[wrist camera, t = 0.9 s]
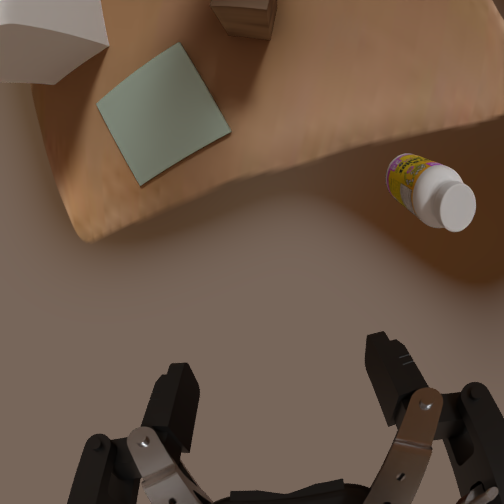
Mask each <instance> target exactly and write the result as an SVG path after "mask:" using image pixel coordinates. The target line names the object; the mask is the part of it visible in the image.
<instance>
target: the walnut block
mask: <svg viewBox="0 0 504 504" xmlns="http://www.w3.org/2000/svg"><path fill="white" fill-rule="evenodd" d="M210 7H211V9H212V10H213V12H214V13H215V15H216V16H217V18H218V19H219V21H220V22H221V24H222V26H223V27H224V29H225V30H226V32H227V34H228V35H229V36H239V37H249V38H257V39H265V40H270V39H271V34H272V30H273V25H274V20H275V15H276V11H277V0H211V3H210Z"/></svg>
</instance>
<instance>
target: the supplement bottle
mask: <svg viewBox="0 0 504 504" xmlns="http://www.w3.org/2000/svg"><path fill="white" fill-rule="evenodd" d="M386 185H387V188H388V191H389V193H390V194H391V195H392V197H393V198H394V199H396V200H397V201H398V202H399V203H401V204H402V205H403V206H404V207H406V208H407V209H408V210H409V211H411V212H412V213H413V214H414V215H416V216H417V217H418V218H419V219H420V220H421V221H422V222H424V223H425V224H427V225H428V226H431V227H434V228H443V227H444V228H446V229H447V230H449V231H452V232H458V231H461V230H463V229H464V228H466V227H467V226H468V225H469V223H470V222H471V221H472V219H473V216H474V214H475V209H476V201H475V196H474V194H473V192H472V190H471V189H470V188H469V187H468V186H467V185H465V184H463V182H462V180H461V178H460V176H459V175H458V174H457V173H456V172H455V171H454V170H453V169H451V168H449V167H447V166H444V165H442V164H439V163H437V162H433V161H431V160H428V159H425V158H423V157H419V156H417V155H413V154H402V155H399V156H397V157H396V158H395V159H394V160H392V162H391V163H390V165H389V167H388V169H387V172H386Z"/></svg>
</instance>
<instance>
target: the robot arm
mask: <svg viewBox="0 0 504 504" xmlns="http://www.w3.org/2000/svg"><path fill="white" fill-rule="evenodd" d="M365 367H366V370H367V373H368V376H369V378H370V380H371V383H372V386H373V388H374V391H375V393H376V396H377V398H378V401H379V403H380V406H381V409H382V411H383V414H384V417H385V419H386V422H387V425H388V427H389V426H392V425H395V424H396V426H397V429H398V431H397V434H396V436H395V438H394V440H393V443H392V445H391V448H390V450H389V452H388V454H387V456H386V458H385V460H384V462H383V465H382V466H381V469H380V470H379V472H378V474H377V476H376V478H375V480H374V482H373V483H372V485H371V487H370V488H368V487H365V486H362V485H358V484H349V483H346V484H345V483H344V482H343V479H339V480H334V481H330V482H324V483H318V484H314V485H312V486H309V487H306V488H303V489H301V490H298V491H295V492H292V493H289V494H280V493H272V492H265V491H258V490H256V491H231V492H230V497H226V498H223V499H220V500H218V501H215V502H213V501H212V500H211V499H210V498H209V496H208V495H207V494H206V493H205V492H204V491H203V490H202V489H201V488H200V487H199V485H198V484H197V482H196V481H195V480H194V478H193V477H192V476H191V474H190V473H189V471H188V470H187V469H186V467H185V465H184V464H183V462H182V461H181V460H180V456H181V452H183V453H190V448H191V442H192V436H193V430H194V425H195V419H196V413H197V408H198V402H199V397H200V389H199V385H198V382H197V380H196V378H195V376H194V374H193V372H192V370H191V368H190V366H189V364H188V363H172V364H171V365H170V366H169V369H168V372H167V375H161V377H160V378H159V379H158V380H157V381H156V383H155V385H154V388H153V391H152V392H153V393H152V394H151V397H150V401H149V403H148V406H147V409H146V412H145V415H144V418H143V421H142V424H141V427H139V428H136V429H134V430H133V431H132V432H131V433H130V434H129V436H128V437H126V438H120V439H114V440H110V439H109V438H108V437H107V436H106V435H103V434H95V435H93V436H91V437H90V438H89V439H88V440H87V442H86V444H85V447H84V450H83V453H82V456H81V459H80V462H79V465H78V468H77V471H76V475H75V478H74V481H73V484H72V488H71V492H70V495H69V499H68V502H67V504H136V502H137V495H138V490H139V484H140V479H141V478H142V477H143V480H144V481H143V482H142V487H143V489H144V491H145V493H146V495H147V497H148V498H149V500H150V502H151V504H411V503H412V501H413V499H414V496H415V494H416V492H417V490H418V487H419V485H420V483H421V480H422V478H423V476H424V473H425V470H426V468H427V465H428V462H429V460H430V456H431V453H432V447H431V446H432V442H433V440H439V439H443V442H444V444H445V447H446V450H447V453H448V456H449V459H450V462H451V465H452V468H453V471H454V474H455V477H456V481H457V484H458V488H459V491H460V495H461V498H460V499H459V500H458V502H457V503H456V504H504V418H503V416H502V414H501V412H500V410H499V408H498V407H497V405H496V403H495V401H494V399H493V398H492V396H491V394H490V392H489V390H488V389H487V387H486V386H485V385H483V384H481V383H479V382H472V383H469V384H467V385H466V386H465V387H464V388H463V390H462V391H461V392H457V393H449V394H440V393H439V392H438V391H437V390H436V389H433V388H429V387H428V385H427V383H426V381H425V380H424V378H423V376H422V374H421V373H420V371H419V369H418V368H417V366H416V364H415V362H413V359H412V357H411V355H409V352H408V351H407V349H406V347H405V345H403V344H402V343H400V342H399V341H398V340H392V341H390V340H389V339H388V337H387V335H386V333H385V332H384V331H382V332H378V333H374V334H370V335H367V339H366V351H365Z"/></svg>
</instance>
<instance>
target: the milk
mask: <svg viewBox="0 0 504 504" xmlns="http://www.w3.org/2000/svg"><path fill="white" fill-rule="evenodd" d="M107 47H109V42H108V38H107V33H106V28H105V23H104V18H103V12H102V6H101V1H100V0H0V82H13V83H14V82H15V83H36V84H49V85H55V84H56V83H58V82H59V81H60V80H61V79H63V78H64V77H65V76H66V75H68V74H69V73H70V72H72V71H73V70H74V69H76V68H77V67H79V66H80V65H81V64H83V63H84V62H86V61H87V60H89V59H90V58H92V57H93V56H95V55H96V54H98V53H99V52H101V51H102V50H104V49H106V48H107Z"/></svg>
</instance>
